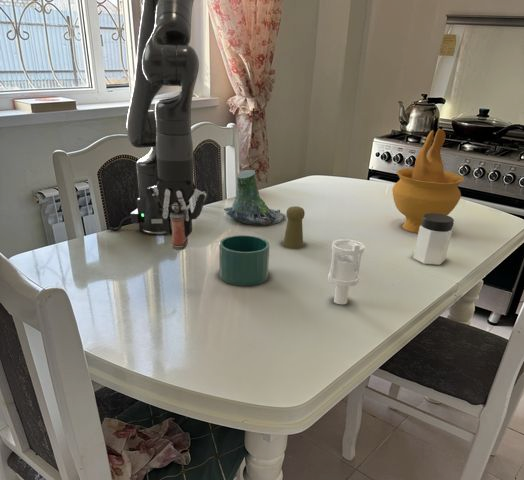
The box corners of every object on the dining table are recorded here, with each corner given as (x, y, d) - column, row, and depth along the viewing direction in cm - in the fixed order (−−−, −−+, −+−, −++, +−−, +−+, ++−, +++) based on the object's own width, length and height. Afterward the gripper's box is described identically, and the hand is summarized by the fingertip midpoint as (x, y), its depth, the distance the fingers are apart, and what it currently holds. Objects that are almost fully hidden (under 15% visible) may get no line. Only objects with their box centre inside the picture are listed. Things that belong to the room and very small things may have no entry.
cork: (301, 249, 145) (305, 211, 139) (281, 247, 146) (283, 209, 140) (304, 242, 150) (307, 205, 144) (284, 240, 151) (287, 203, 145)
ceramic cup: (219, 285, 122) (219, 252, 117) (219, 266, 132) (219, 234, 128) (269, 286, 123) (271, 253, 118) (265, 266, 133) (267, 235, 129)
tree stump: (296, 222, 167) (291, 170, 155) (247, 245, 160) (238, 193, 148) (264, 205, 179) (258, 155, 167) (217, 226, 172) (207, 176, 160)
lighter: (175, 237, 119) (171, 195, 113) (189, 237, 119) (186, 195, 113) (170, 250, 112) (166, 205, 106) (186, 250, 112) (182, 205, 107)
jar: (451, 263, 141) (462, 221, 134) (428, 267, 138) (438, 224, 131) (429, 252, 147) (438, 211, 141) (407, 255, 144) (416, 214, 138)
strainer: (335, 310, 113) (343, 247, 105) (319, 297, 119) (326, 235, 111) (361, 305, 116) (371, 243, 108) (345, 293, 121) (354, 232, 113)
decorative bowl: (428, 243, 153) (452, 138, 137) (373, 225, 166) (389, 127, 151) (464, 231, 166) (489, 133, 150) (410, 214, 179) (428, 123, 163)
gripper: (212, 154, 107) (212, 232, 116) (149, 148, 109) (155, 226, 118) (202, 162, 101) (203, 244, 110) (135, 155, 103) (142, 236, 112)
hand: (178, 234), depth 114 cm, fingers closed on lighter, 3 cm apart
